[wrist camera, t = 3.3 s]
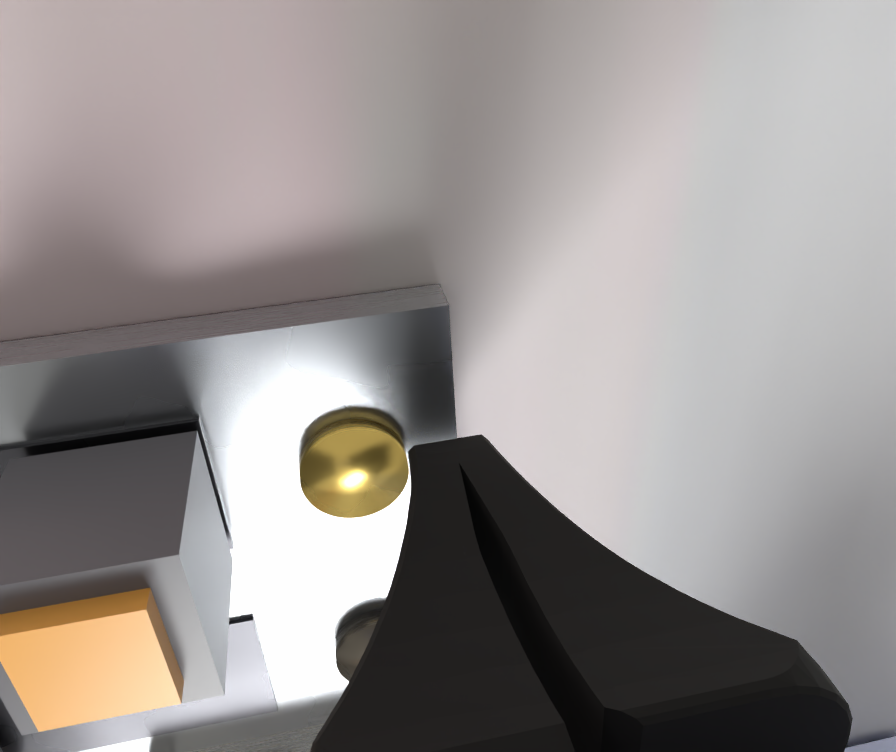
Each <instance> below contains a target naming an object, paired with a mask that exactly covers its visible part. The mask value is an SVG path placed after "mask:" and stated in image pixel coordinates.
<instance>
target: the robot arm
mask: <svg viewBox="0 0 896 752" xmlns="http://www.w3.org/2000/svg"><path fill="white" fill-rule="evenodd" d="M408 458H409V468H410V478H411V491H410V501H409V508H408V515H407V522H406V528H405V532H404V537H403V541H402V545H401V550H400V554H399V558H398V562H397V566H396V569H395V573H394V576H393V579H392V582H391V586H390V589H389V591H388V594H387V597H386V600H385V603H384V606H383V608H382V611H381V613H380V616H379V618H378V621H377V623H376V626H375V629H374V631H373V633H372V636H371V638H370V640H369V643H368V645H367V647H366V649H365V651H364V653H363V655H362V657H361V659H360V661H359V663H358V665H357V667H356V669H355V671H354V673H353V675H352V677H351V679H350V681H349V683H348V685H347V687H346V689H345V690H344V692H343V694H342V696H341V697H340V699H339V701H338V703H337V704H336V706H335V707H334V709H333V711H332V712H331V714H330V715H329V717H328V719H327V720H326V722H325V723H324V725H323V727H322V728H321V730H320V732H319V733H318V735H317V736H316V738H315V740H314V741H313V743H312V747H311V750H310V752H896V736H894V737H890V738H885V739H881V740H877V741H873V742H868V743H864V744H860V745H856V746H851V747H847V748H846V745H847V742H848V739H849V735H850V729H851V724H852V716H851V712H850V709H849V705H848V703H847V702H846V701H845V699H844V698H843V697H842V695H841V694H840V693H839V691H838V690H837V688H836V687H835V686H834V684H833V683H832V682H831V680H830V679H829V678H828V676H827V675H826V674H825V672H824V671H823V670H822V669H821V667H820V666H819V665H818V664H817V663H816V662H815V660H814V659H813V658H812V657H811V656H810V655H809V654H808V653H807V652H806V651H805V650H804V648H803V647H802V646H801V645H800V643H799V642H798V641H797V640H794V639H791V638H789V637H786V636H784V635H781V634H778V633H776V632H773V631H770V630H768V629H765V628H762V627H760V626H757V625H754V624H752V623H749V622H746V621H744V620H741V619H738V618H736V617H734V616H731V615H729V614H727V613H724V612H722V611H720V610H718V609H716V608H713V607H711V606H709V605H707V604H705V603H702V602H700V601H698V600H696V599H694V598H692V597H690V596H688V595H686V594H684V593H682V592H680V591H678V590H676V589H674V588H672V587H671V586H669V585H667V584H665V583H663V582H662V581H660V580H658V579H656V578H654V577H653V576H651V575H649V574H647V573H645V572H643V571H642V570H640V569H638V568H637V567H635V566H634V565H632V564H630V563H629V562H627V561H625V560H624V559H622V558H621V557H619V556H618V555H616V554H615V553H614V552H612V551H611V550H609V549H608V548H606V547H605V546H603V545H602V544H601V543H599V542H598V541H596V540H595V539H594V538H592V537H591V536H590V535H589V534H587V533H586V532H585V531H583V530H582V529H581V528H580V527H578V526H577V525H576V524H575V523H573V522H572V521H571V520H570V519H568V518H567V517H566V516H565V515H564V514H562V513H561V512H560V511H559V510H558V509H557V508H555V507H554V506H553V505H552V504H551V503H550V502H549V501H548V500H547V499H546V498H544V497H543V496H542V495H541V494H540V493H539V492H538V491H537V490H536V489H535V488H534V487H532V486H531V485H530V484H529V483H528V482H527V481H526V480H525V479H524V478H523V477H522V476H521V475H520V474H519V473H518V472H517V471H516V470H515V469H514V468H513V467H512V466H511V465H510V464H509V463H508V461H507V460H506V459H505V458H504V457H503V456H502V455H501V454H500V453H499V452H498V451H497V450H496V448H495V447H494V446H493V445H492V444H491V443H490V442H489V440H488V439H486V438H485V437H484V436H482V435H475V436H469V437H463V438H457V439H450V440H444V441H438V442H432V443H425V444H419V445H414V446H413V447H412V448H411V449H410V450H409V451H408Z"/></svg>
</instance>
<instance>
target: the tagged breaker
mask: <svg viewBox="0 0 896 752" xmlns="http://www.w3.org/2000/svg"><path fill="white" fill-rule="evenodd" d="M232 568H233V558H232V554H231V551H230V547H229V544H228V540H227V536H226V533H225V529H224V526H223V522H222V518H221V515H220V511H219V507H218V504H217V500H216V497H215V493H214V489H213V486H212V482H211V478H210V475H209V471H208V468H207V464H206V460H205V457H204V453H203V449H202V446H201V442H200V439H199V435H198V431H192V432H185V433H179V434H172V435H166V436H159V437H153V438H146V439H140V440H133V441H126V442H120V443H113V444H107V445H100V446H94V447H87V448H81V449H74V450H67V451H61V452H54V453H48V454H41V455H35V456H28V457H21V458H15V459H9V461H8V463H7V465H6V467H5V469H4V471H3V474H2V476H1V478H0V698H1V700H2V702H3V703H4V705H5V707H6V709H7V710H8V712H9V714H10V716H11V717H12V719H13V721H14V723H15V724H16V726H17V728H18V730H19V732H20V733H21V735H27V734H32V733H37V732H42V731H47V730H52V729H57V728H62V727H67V726H72V725H77V724H82V723H87V722H92V721H97V720H102V719H107V718H112V717H117V716H122V715H127V714H132V713H137V712H142V711H147V710H152V709H157V708H162V707H167V706H172V705H177V704H182V703H187V702H192V701H197V700H202V699H207V698H212V697H217V696H222V695H224V694H225V679H226V663H227V647H228V631H229V615H230V599H231V583H232Z"/></svg>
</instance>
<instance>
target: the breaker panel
mask: <svg viewBox="0 0 896 752" xmlns="http://www.w3.org/2000/svg"><path fill="white" fill-rule="evenodd" d="M192 431H198V435H199V439H200V442H201V446H202V449H203V453H204V457H205V460H206V464H207V468H208V471H209V475H210V478H211V482H212V486H213V489H214V493H215V497H216V500H217V504H218V507H219V511H220V515H221V518H222V522H223V526H224V529H225V533H226V536H227V540H228V544H229V547H230V551H231V554H232V558H233V568H232V583H231V599H230V615H229V631H228V647H227V663H226V679H225V694H224V695H222V696H217V697H212V698H207V699H202V700H197V701H192V702H187V703H182V704H177V705H172V706H167V707H162V708H157V709H152V710H147V711H142V712H137V713H132V714H127V715H122V716H117V717H112V718H107V719H102V720H97V721H92V722H87V723H82V724H77V725H72V726H67V727H62V728H57V729H52V730H47V731H42V732H37V733H32V734H27V735H21V733H20V732H19V730H18V728H17V726H16V724H15V723H14V721H13V719H12V717H11V716H10V714H9V712H8V710H7V709H6V707H5V705H4V703H3V702H2V700H1V698H0V748H1V749H2V751H3V752H310V750H311V747H312V743H313V741H314V740H315V738H316V736H317V735H318V733H319V732H320V730H321V728H322V727H323V725H324V723H325V722H326V720H327V719H328V717H329V715H330V714H331V712H332V711H333V709H334V707H335V706H336V704H337V703H338V701H339V699H340V697H341V696H342V694H343V692H344V690H345V689H346V687H347V685H348V683H349V681H350V679H351V677H352V675H353V673H354V671H355V669H356V667H357V665H358V663H359V661H360V659H361V657H362V655H363V653H364V651H365V649H366V647H367V645H368V643H369V640H370V638H371V636H372V633H373V631H374V629H375V626H376V623H377V621H378V618H379V616H380V613H381V611H382V608H383V606H384V603H385V600H386V597H387V594H388V591H389V589H390V586H391V582H392V579H393V576H394V573H395V569H396V566H397V562H398V558H399V554H400V550H401V545H402V541H403V537H404V532H405V528H406V522H407V515H408V508H409V501H410V491H411V478H410V468H409V458H408V451H409V450H410V449H411V448H412V447H413V446H414V445H419V444H425V443H432V442H438V441H444V440H450V439H457V433H456V417H455V400H454V384H453V367H452V351H451V334H450V317H449V305H448V302H447V300H446V298H445V296H444V294H443V291H442V289H441V287H440V285H439V284H436V285H428V286H421V287H413V288H406V289H398V290H391V291H383V292H376V293H368V294H360V295H353V296H345V297H338V298H330V299H323V300H315V301H308V302H300V303H292V304H285V305H277V306H270V307H262V308H255V309H247V310H240V311H232V312H224V313H217V314H209V315H202V316H194V317H187V318H179V319H172V320H164V321H157V322H149V323H141V324H134V325H126V326H119V327H111V328H104V329H96V330H89V331H81V332H73V333H66V334H58V335H51V336H43V337H36V338H28V339H21V340H13V341H5V342H0V478H1V476H2V474H3V471H4V469H5V467H6V465H7V463H8V461H9V459H15V458H21V457H28V456H35V455H41V454H48V453H54V452H61V451H67V450H74V449H81V448H87V447H94V446H100V445H107V444H113V443H120V442H126V441H133V440H140V439H146V438H153V437H159V436H166V435H172V434H179V433H185V432H192Z"/></svg>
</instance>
